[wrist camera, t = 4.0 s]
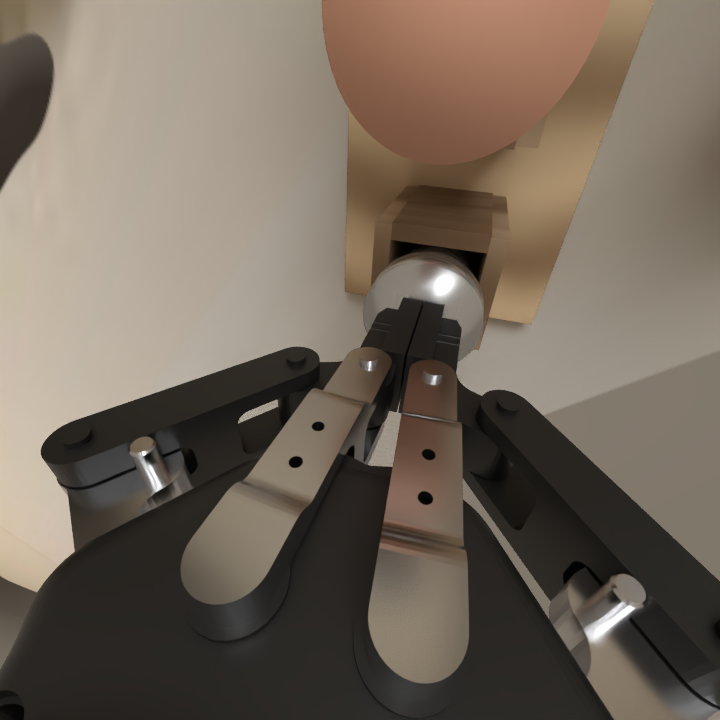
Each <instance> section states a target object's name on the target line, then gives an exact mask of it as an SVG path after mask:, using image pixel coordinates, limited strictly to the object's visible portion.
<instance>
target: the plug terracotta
mask: <svg viewBox="0 0 720 720" xmlns="http://www.w3.org/2000/svg"><path fill="white" fill-rule="evenodd" d="M610 1H611V0H322V17H323V30H324V37H325V44H326V50H327V54H328V58H329V62H330V66H331V70H332V73H333V75H334V78H335V81H336V84H337V86H338V89H339V91H340V93H341V95H342V97H343V99H344V101H345V103H346V105H347V106H348V108H349V109H350V111H351V113H352V114H353V116H354V117H355V119H356V120H357V121H358V122H359V124H360V125H361V126H362V127H363V128H364V130H365V131H366V132H367V133H368V134H369V135H370V136H372V137H373V138H374V139H375V140H376V141H377V142H378V143H380V144H381V145H383V146H384V147H385V148H387V149H388V150H390V151H392V152H394V153H396V154H398V155H400V156H402V157H404V158H407V159H410V160H413V161H416V162H421V163H426V164H434V165H450V164H458V163H465V162H468V161H472V160H476V159H480V158H482V157H485V156H487V155H489V154H492V153H494V152H496V151H498V150H500V149H502V148H504V147H505V146H507V145H509V144H511V143H512V142H514V141H515V140H517V139H518V138H519V137H521V136H522V135H524V134H525V133H526V132H528V131H529V130H530V129H531V128H532V127H533V126H535V125H536V124H537V123H538V122H539V121H540V120H541V119H542V118H543V117H544V116H545V115H546V114H547V113H548V112H549V111H550V110H551V109H552V108H553V107H554V106H555V104H556V103H557V102H558V101H559V100H560V98H561V97H562V96H563V94H564V93H565V92H566V90H567V89H568V88H569V87H570V85H571V84H572V83H573V81H574V79H575V78H576V76H577V74H578V73H579V71H580V70H581V68H582V66H583V65H584V63H585V61H586V60H587V58H588V56H589V54H590V52H591V49H592V47H593V45H594V43H595V41H596V39H597V37H598V35H599V32H600V30H601V27H602V24H603V22H604V19H605V16H606V14H607V11H608V8H609V4H610Z"/></svg>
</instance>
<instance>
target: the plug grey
mask: <svg viewBox="0 0 720 720" xmlns="http://www.w3.org/2000/svg"><path fill="white" fill-rule="evenodd" d="M471 257H472V251H466V250H459V249H452V248H445V247H438V246H431V245H424V244H417V243H414V245H413V247H412V249H411V251H410V253H409V254H407V255H404V256H401V257H399V258H397V259H395V260H394V261H392V262H391V263H390V264H388V265H387V266H386V267H385V268H384V269H383V270H382V271H381V273H380V274H379V276H378V277H377V279H376V280H375V282H374V284H373V285H372V287H371V289H370V290H369V292H368V294H367V296H366V299H365V302H364V308H363V319H364V325H365V328H366V331H367V333H368V332H369V330H370V329H371V326H372V324H373V323H374V320H375V318H376V316H377V314H378V313H379V312H381V311H382V310H384V309H385V308H392V309H397V310H398V308H399V306H400V304H401V301H402V299H403V297H406V298H412V299H418V300H423V305H424V302H425V301H430V302H435V303H441V304H445V306H444V311H443V316H442V318H447V319H453V320H457V321H458V323H459V325H460V326H461V328H462V332H461V338H460V347H459V354H458V361H460V360H462V359H463V358H464V357H466V356H467V355H468V354H469V353H470V352H471V351H472V350H473V348H474V347H475V346H476V344H477V342H478V340H479V338H480V335H481V333H482V328H483V314H484V298H483V293H482V289H481V287H480V285H479V282H478V281H477V279H476V277H475V276H474V275H473V274H472V272H471V271H470V264H471ZM458 361H457V362H458Z"/></svg>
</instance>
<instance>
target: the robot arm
mask: <svg viewBox="0 0 720 720" xmlns="http://www.w3.org/2000/svg"><path fill="white" fill-rule="evenodd" d="M444 306H445V304H441V303H435V302H430V301H425V302H424V305H423V300H418V299H412V298H406V297H403V299H402V301H401V304H400V306H399V308H398V310H397V309H392V308H385V309H384V310H382V311H381V312H379V313H378V314H377V316H376V318H375V320H374V323H373V324H372V326H371V329H370V330H369V332H368V334H367V336H366V338H365V339H364V341H363V343H362V345H361V347H360V348H357V349H354V350H352V351H351V352H349V354H348V355H347V356H346V358H345V359H344V360H343V361H341V362H320V359H319V356H318V354H317V353H316V352H315V351H313V350H311V349H309V348H305V347H290V348H286V349H283V350H280V351H277V352H274V353H272V354H269V355H266V356H263V357H260V358H257V359H254V360H251V361H248V362H245V363H242V364H239V365H236V366H233V367H230V368H228V369H225V370H222V371H219V372H216V373H213V374H210V375H207V376H204V377H201V378H198V379H195V380H192V381H189V382H187V383H184V384H181V385H178V386H175V387H172V388H169V389H166V390H163V391H160V392H157V393H154V394H151V395H148V396H145V397H143V398H140V399H137V400H134V401H131V402H128V403H125V404H122V405H119V406H116V407H113V408H110V409H107V410H104V411H101V412H99V413H96V414H93V415H90V416H87V417H84V418H81V419H78V420H75V421H73V422H70V423H68V424H66V425H64V426H62V427H60V428H59V429H57V430H56V431H54V432H53V433H52V434H51V435H50V436H49V437H48V438H47V439H46V440H45V442H44V443H43V445H42V448H41V456H42V458H43V459H44V461H45V462H46V463H47V465H48V466H49V468H50V469H51V470H52V472H53V473H54V474H55V476H56V477H57V481H58V483H59V485H60V486H61V487H62V489H63V490H64V491H65V493H66V494H67V495H68V499H69V507H70V515H71V524H72V532H73V540H74V548H75V552H74V553H73V554H71V555H70V556H69V557H68V558H67V559H65V560H64V561H63V562H62V563H61V564H60V565H59V566H58V567H57V568H56V569H55V570H54V571H53V573H52V574H51V575H50V576H49V577H48V578H47V580H46V581H45V582H44V583H43V585H42V586H41V588H40V589H39V591H38V592H37V594H36V595H35V597H34V599H33V601H32V602H31V604H30V606H29V608H28V611H27V613H26V615H25V618H24V620H23V623H22V626H21V628H20V631H19V633H18V635H17V638H16V640H15V642H14V644H13V646H12V648H11V650H10V653H9V655H8V657H7V658H6V660H5V662H4V664H3V666H2V667H1V669H0V720H719V719H720V581H719V580H718V579H717V578H715V577H714V576H713V575H712V574H711V573H710V572H709V571H708V570H707V569H706V568H705V567H704V566H703V565H702V564H701V563H699V562H698V561H697V560H696V559H695V558H694V557H693V556H692V555H691V554H690V553H689V552H688V551H687V550H685V548H683V547H682V546H681V545H680V544H679V543H678V542H677V541H676V540H675V539H674V538H673V537H672V536H671V535H670V534H669V533H667V532H666V531H665V530H664V529H663V528H662V527H661V526H660V525H659V524H658V523H657V522H656V521H655V520H654V519H652V517H650V516H649V515H648V514H647V513H646V512H645V511H644V510H643V509H641V507H640V506H639V505H638V504H637V503H636V502H634V501H633V500H632V499H631V498H630V497H629V496H628V495H627V494H626V493H625V492H624V491H623V490H622V489H621V488H619V487H618V486H617V485H616V484H615V483H614V482H613V481H612V480H611V479H610V478H609V477H608V476H607V475H606V474H605V473H603V472H602V471H601V470H600V469H599V468H598V467H597V466H596V465H595V464H594V463H593V462H592V461H591V460H590V459H588V458H587V457H586V456H585V455H584V454H583V453H582V452H581V451H580V450H579V449H578V448H577V447H576V446H575V445H574V444H573V443H572V442H570V441H569V440H568V439H567V438H566V437H565V436H564V435H563V434H562V433H561V432H560V431H559V430H558V429H557V428H556V427H554V426H553V425H552V424H551V423H550V422H549V421H548V420H547V419H546V418H545V417H544V416H543V415H542V414H541V413H540V412H538V411H537V410H536V409H535V408H534V407H533V406H532V405H531V404H530V403H529V402H528V401H527V400H525V399H524V398H523V397H521V396H519V395H517V394H515V393H513V392H509V391H505V390H492V391H489V392H487V393H485V394H484V395H483V396H481V395H478V394H476V393H474V392H472V391H470V390H469V389H467V388H466V387H464V386H463V385H462V384H461V383H460V381H459V380H458V378H457V375H456V369H457V361H458V354H459V347H460V338H461V332H462V328H461V326H460V325H459V323H458V321H457V320H453V319H447V318H442V316H443V311H444ZM276 399H277V400H278V407H277V408H274V409H272V410H270V411H267V412H265V413H263V414H260V415H258V416H255V417H253V418H251V419H248V420H246V421H244V422H241V423H239V424H238V420H239V418H240V417H241V416H242V415H243V414H244V413H245V412H247V411H249V410H252V409H254V408H257V407H259V406H262V405H264V404H266V403H269V402H271V401H274V400H276ZM399 402H400V406H399V413H402V415H401V421H400V427H399V433H398V439H397V445H396V451H395V457H394V462H393V467H382V466H369V465H368V463H369V461H370V458H371V456H372V454H373V452H374V449H375V447H376V445H377V442H378V440H379V438H380V436H381V433H382V431H383V428H384V421H385V420H386V418H387V415H388V412H389V411H393V412H397V409H398V405H399ZM521 474H522V475H521ZM463 479H464V480H465V481H466V483H467V484H468V486H469V487H470V489H471V490H472V491H473V493H474V494H475V496H476V497H477V498H478V500H479V501H480V503H481V504H482V506H483V507H484V508H485V510H486V511H487V513H488V514H489V515H490V517H491V518H492V520H493V521H494V522H495V524H496V525H497V527H498V528H499V529H500V531H501V532H502V534H503V535H504V536H505V538H506V539H507V541H508V542H509V543H510V545H511V546H512V548H513V549H514V551H515V552H516V553H517V554H518V556H519V557H520V559H521V560H522V562H523V563H524V565H525V566H526V567H527V569H528V570H529V572H530V573H531V574H532V576H533V577H534V579H535V580H536V581H537V583H538V584H539V586H540V587H541V588H542V590H543V591H544V593H545V594H546V596H547V597H548V598H549V600H550V601H551V603H550V606H549V618H548V617H547V615H546V614H545V612H544V611H543V609H542V608H541V606H540V605H539V603H538V601H537V600H536V599H535V597H534V595H533V594H532V592H531V591H530V589H529V588H528V586H527V585H526V583H525V581H524V580H523V578H522V577H521V575H520V574H519V572H518V571H517V570H516V568H515V566H514V565H513V563H512V562H511V560H510V559H509V557H508V555H507V554H506V552H505V551H504V549H503V548H502V546H501V545H500V543H499V542H498V540H497V538H496V537H495V535H494V534H493V532H492V531H491V529H490V528H489V526H488V525H487V523H486V522H485V521H484V520H483V518H482V517H481V516H480V515H479V513H477V512H476V511H475V510H474V509H473V508H472V507H471V506H470V505H469V504H468V503H467V502H465V501H464V500H463Z"/></svg>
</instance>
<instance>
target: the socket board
mask: <svg viewBox="0 0 720 720" xmlns="http://www.w3.org/2000/svg"><path fill="white" fill-rule="evenodd" d="M653 3H654V0H611V1H610V4H609V8H608V11H607V14H606V16H605V19H604V22H603V24H602V27H601V30H600V32H599V35H598V37H597V39H596V41H595V43H594V45H593V47H592V49H591V52H590V54H589V56H588V58H587V60H586V61H585V63H584V65H583V66H582V68H581V70H580V71H579V73H578V74H577V76H576V78H575V79H574V81H573V83H572V84H571V85H570V87H569V88H568V89H567V90H566V92H565V93H564V94H563V96H562V97H561V98H560V100H559V101H558V102H557V103H556V104H555V106H554V107H553V108H552V109H551V110H550V111H549V112H548V113H547V114H546V115H545V116H544V117H543V118H542V119H541V120H540V121H539V122H538V123H537V124H536V125H535V126H533V127H532V128H531V129H530V130H529V131H528V132H526V133H525V134H524V135H522V136H521V137H519V138H518V139H517V140H515V141H514V142H512V143H511V144H509V145H507V146H505V147H504V148H502V149H500V150H498V151H496V152H494V153H492V154H489V155H487V156H485V157H482V158H480V159H476V160H472V161H468V162H465V163H458V164H450V165H434V164H426V163H421V162H416V161H413V160H410V159H407V158H404V157H402V156H400V155H398V154H396V153H394V152H392V151H390V150H388V149H387V148H385V147H384V146H383V145H381V144H380V143H378V142H377V141H376V140H375V139H374V138H373V137H372V136H370V135H369V134H368V133H367V132H366V131H365V130H364V128H363V127H362V126H361V125H360V124H359V122H358V121H357V120H356V119H355V117H354V116H353V114H352V113H351V111H350V109H349V126H348V171H347V216H346V260H345V292H348V293H354V294H360V295H366V296H367V294H368V292H369V290H370V289H371V287H372V285H373V284H374V282H375V280H376V279H377V277H378V276H379V274H380V273H381V271H382V270H383V269H384V268H385V267H386V266H387V265H388V264H390V263H391V262H392V261H394V260H395V259H397V258H399V257H401V256H404V255H407V254H409V253H410V251H411V249H412V247H413V245H414V243H417V244H424V245H431V246H438V247H445V248H452V249H459V250H466V251H472V257H471V264H470V271H471V272H472V274H473V275H474V276H475V277H476V279H477V281H478V282H479V285H480V287H481V289H482V293H483V298H484V314H483V328H482V333H481V335H480V338H479V340H478V342H477V344H476V346H475V347H474V348H473V349H475V350H479V348H480V344H481V341H482V338H483V334H484V331H485V327H486V324H487V321H488V317H491V318H496V319H502V320H508V321H513V322H519V323H525V324H530V325H532V323H533V320H534V317H535V315H536V312H537V309H538V307H539V304H540V301H541V299H542V296H543V293H544V291H545V288H546V286H547V283H548V280H549V278H550V275H551V272H552V270H553V267H554V264H555V262H556V259H557V257H558V254H559V251H560V249H561V246H562V243H563V241H564V238H565V235H566V233H567V230H568V227H569V225H570V222H571V220H572V217H573V214H574V212H575V209H576V206H577V204H578V201H579V198H580V196H581V193H582V191H583V188H584V185H585V183H586V180H587V177H588V175H589V172H590V169H591V167H592V164H593V161H594V159H595V156H596V154H597V151H598V148H599V146H600V143H601V140H602V138H603V135H604V132H605V130H606V127H607V125H608V122H609V119H610V117H611V114H612V111H613V109H614V106H615V103H616V101H617V98H618V96H619V93H620V90H621V88H622V85H623V82H624V80H625V77H626V74H627V72H628V69H629V66H630V64H631V61H632V59H633V56H634V53H635V51H636V48H637V45H638V43H639V40H640V37H641V35H642V32H643V30H644V27H645V24H646V22H647V19H648V16H649V14H650V11H651V8H652V6H653Z"/></svg>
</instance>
